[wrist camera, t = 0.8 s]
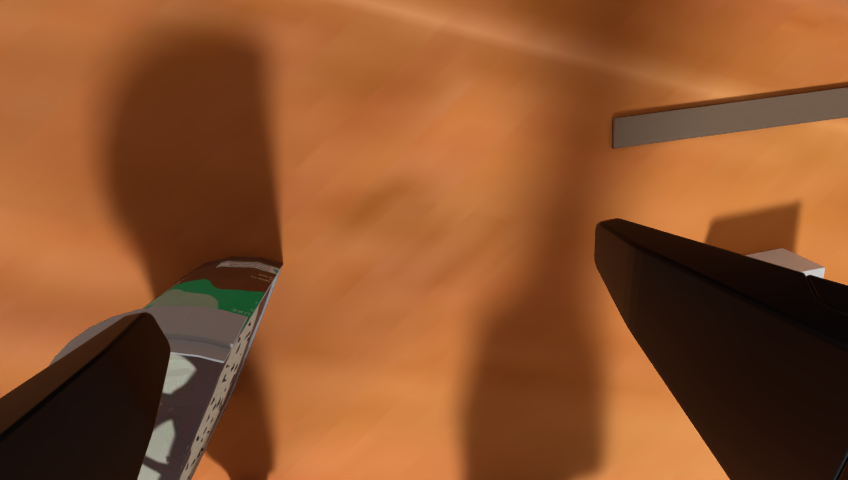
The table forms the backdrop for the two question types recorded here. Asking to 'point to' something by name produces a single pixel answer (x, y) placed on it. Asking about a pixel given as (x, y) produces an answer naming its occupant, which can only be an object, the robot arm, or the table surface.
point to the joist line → (730, 117)
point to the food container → (199, 355)
